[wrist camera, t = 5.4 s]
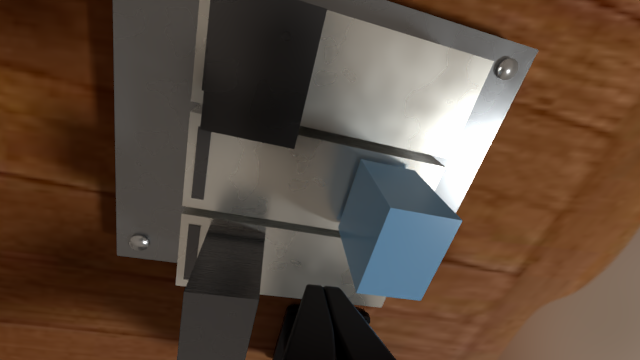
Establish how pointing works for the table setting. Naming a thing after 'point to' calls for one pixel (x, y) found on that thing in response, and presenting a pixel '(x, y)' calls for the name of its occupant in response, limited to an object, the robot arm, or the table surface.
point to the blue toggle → (394, 231)
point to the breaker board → (285, 138)
